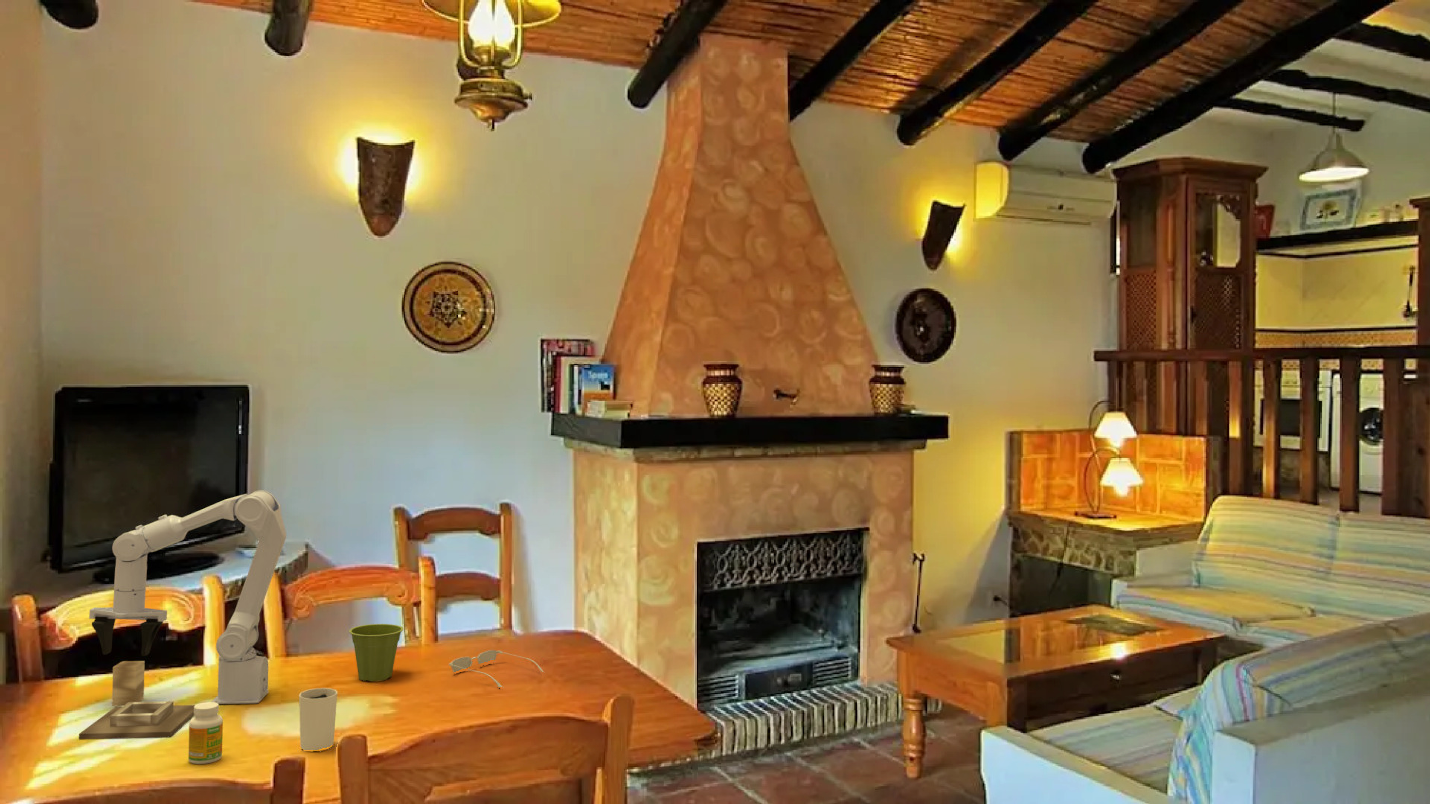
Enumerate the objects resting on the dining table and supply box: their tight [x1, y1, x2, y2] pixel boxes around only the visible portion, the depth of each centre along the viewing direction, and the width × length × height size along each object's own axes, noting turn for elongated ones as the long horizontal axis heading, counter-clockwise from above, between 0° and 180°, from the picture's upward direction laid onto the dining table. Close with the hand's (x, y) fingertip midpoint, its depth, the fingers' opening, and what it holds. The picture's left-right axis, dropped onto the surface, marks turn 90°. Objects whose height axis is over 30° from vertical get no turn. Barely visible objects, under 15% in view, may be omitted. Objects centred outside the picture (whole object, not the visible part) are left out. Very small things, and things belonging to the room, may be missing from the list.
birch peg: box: [111, 660, 145, 707], centre depth 210 cm, size 4×4×8 cm
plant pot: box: [348, 623, 404, 682], centre depth 232 cm, size 12×12×11 cm
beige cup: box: [298, 687, 338, 750], centre depth 188 cm, size 7×7×10 cm
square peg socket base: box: [78, 700, 196, 740], centre depth 198 cm, size 16×16×3 cm
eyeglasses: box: [448, 649, 544, 688], centre depth 237 cm, size 15×18×4 cm
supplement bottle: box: [187, 701, 224, 765], centre depth 181 cm, size 5×5×10 cm
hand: (126, 654), depth 210 cm, fingers open, 7 cm apart
